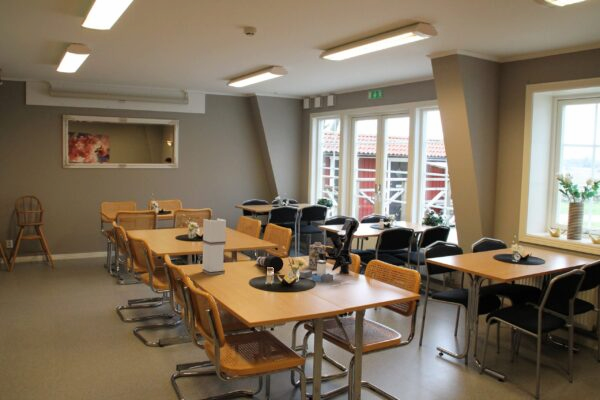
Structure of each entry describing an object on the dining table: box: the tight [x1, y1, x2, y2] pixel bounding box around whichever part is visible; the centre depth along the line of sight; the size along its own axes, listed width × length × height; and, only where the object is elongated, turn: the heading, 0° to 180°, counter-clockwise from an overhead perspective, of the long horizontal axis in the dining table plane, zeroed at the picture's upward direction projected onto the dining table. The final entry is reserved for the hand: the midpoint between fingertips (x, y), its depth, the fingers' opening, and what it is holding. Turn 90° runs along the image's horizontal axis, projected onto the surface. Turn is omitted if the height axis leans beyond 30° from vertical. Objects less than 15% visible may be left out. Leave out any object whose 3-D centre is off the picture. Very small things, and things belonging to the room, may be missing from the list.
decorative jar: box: [308, 241, 327, 270], centre depth 363 cm, size 12×12×18 cm
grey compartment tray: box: [299, 269, 334, 284], centre depth 322 cm, size 20×9×5 cm, turn 53°
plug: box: [316, 260, 327, 277], centre depth 320 cm, size 4×4×12 cm
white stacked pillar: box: [202, 218, 227, 276], centre depth 334 cm, size 11×11×35 cm
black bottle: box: [255, 255, 284, 273], centre depth 356 cm, size 10×34×10 cm, turn 26°
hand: (326, 269), depth 325 cm, fingers open, 9 cm apart
